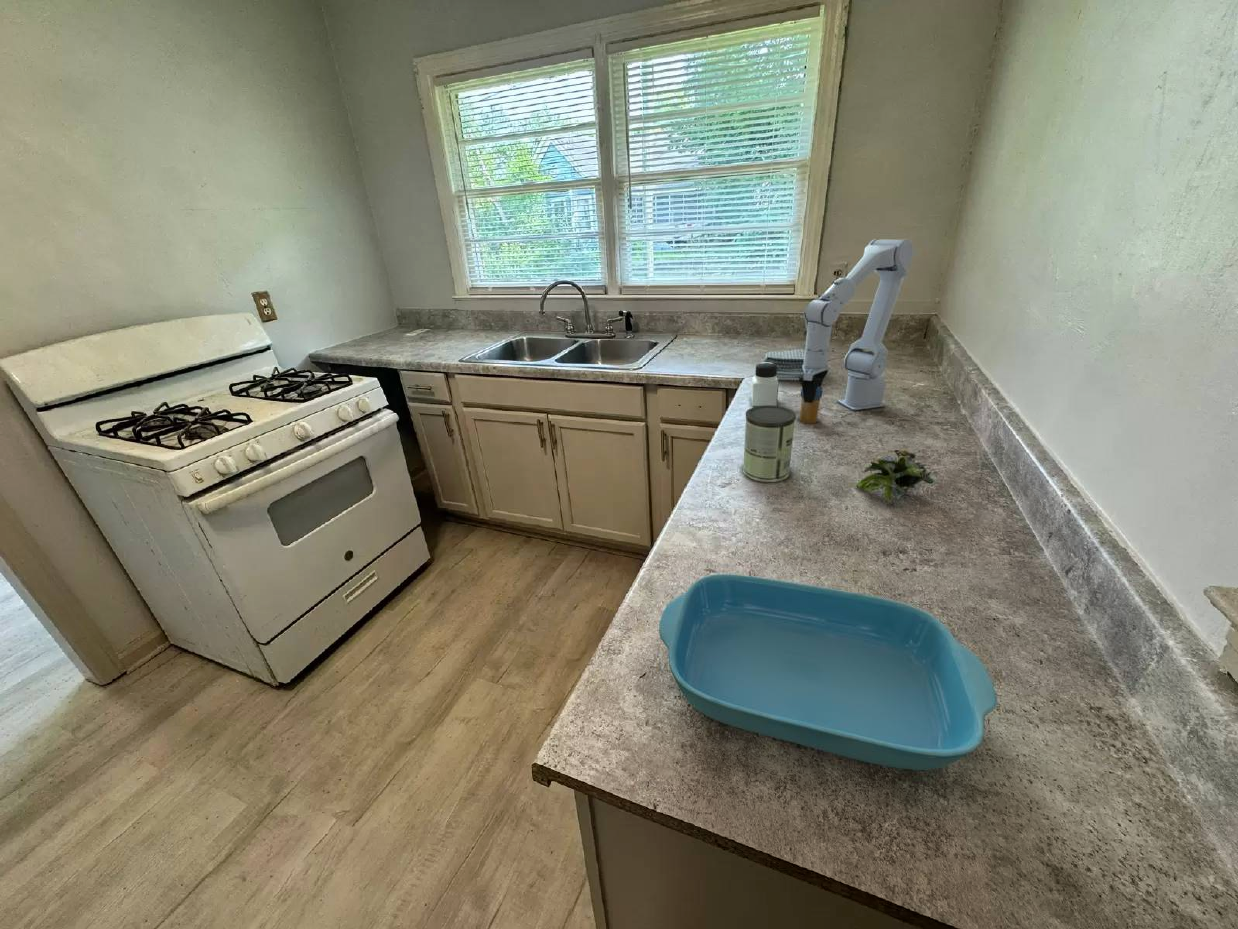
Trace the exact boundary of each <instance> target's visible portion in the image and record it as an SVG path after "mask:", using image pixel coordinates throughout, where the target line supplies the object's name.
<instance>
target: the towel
mask: <svg viewBox="0 0 1238 929" xmlns="http://www.w3.org/2000/svg"><path fill="white" fill-rule="evenodd" d="M804 354H805V348H804V349H803V348H800V349H789V350H782V351H781V350H779V351H777V350H776V351H767V352H766V353H765V355H764V359H763V362H770V363H774V364H776V365H777V374H776V377H777V380H778V381H795V382H796V381H799V376H800V375H804V371H803V369H802V365H803V363H804ZM763 362H761V363H763Z"/></svg>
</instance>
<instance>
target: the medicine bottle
mask: <svg viewBox="0 0 1238 929" xmlns="http://www.w3.org/2000/svg"><path fill="white" fill-rule="evenodd" d="M776 374H777V365H776V364H774V363H770V362H764V361H763V363H762V362H760V363H757V364H756V365H755V374H754V376H752V380H751V395H750V396H751V398H750V399H751V400H750V401H751V405H752V407H757V406H766V405H772V406H778V398H779V397H778V396H779V380H777V377H776Z"/></svg>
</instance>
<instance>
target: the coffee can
mask: <svg viewBox="0 0 1238 929" xmlns="http://www.w3.org/2000/svg"><path fill="white" fill-rule="evenodd" d="M796 418H797V414H796V412H795V411H794V410H792V409H791V408H788V407H784V406H780V405H777V406H772V405H766V406H752V407H750V408H749V409H747V410H746V411H745V428H744V430H745V432H744V448H743V466H742V473H743V475H745V476H746V477H747V478H749V479H751V480H753V481H757V482H761V483H777V482H781V481H784V480H786V479H788V477H789V476H790V473H791V471H790V470H791V462H792V461H791V460H792V452H793V450H792V449H793V440H794V431H795V422H796V421H795V420H796Z"/></svg>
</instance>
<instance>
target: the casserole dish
mask: <svg viewBox="0 0 1238 929" xmlns="http://www.w3.org/2000/svg"><path fill="white" fill-rule="evenodd" d="M658 633H659V637H660V640H661V642H662V643H663V644H664V645H665V646H666V648H667V649H668V666H669V668H670V673H671V674H672V677H673V679H674V680H675V682H676V684H677V687H678V688H679V690H680V693H681V694H682V696H683V697H684V698H685V700H686V701H687V702H688V703H689V704H690V705H691V706H692V707H693V708H694V709H695V710H697V711H698V712H699V713H701V714H703V715H705V716H706V717H708V718H710V719H712V720H715V721H717V722H720V723H722V724H725V725H728V726H730V727H735V728H737V729H740V730H744V731H747V732H752V733H755V734H758V735H762V736H767V737H770V738H773V739H777V740H781V741H786V742H790V743H792V744H793V743H794V744H798V745H801V746H804V747H808V748H812V749H815V750H817V751H818V750H819V751H822V752H826V753H829V754H833V755H837V756H841V757H845V758H849V759H852V760H857V761H860V762H865V763H869V764H874V765H878V766H884V767H889V768H896V769H902V770H913V771H929V770H936V769H939V768H943V767H946V766H949V765H951V764H953V763H956V762H957V761H959V760H960V759H962V758H964V757H965V756H967V755H969V754H971V753H973V752H974V751H975V750H976V749H978V748H979V747H980V745H981V743H982V742H983V740H984V736H985V717H986V716H987V715H989V714H990V713H991V712H993V710H994V709H995V708H996V706H997V704H998V703H997V702H998V696H997V692H996V689H995V686H994V683H993V681H992V678H991V676H990V673H989V672H988V670H987V668H986V666H985V664H984V663H983V662H982V660H980V658H979V657H978V656H977V655H976V654H975V653H974V652H972V651H971V650H969V649H968V648H967V647H965V646H964V645H963V644H961V643H960V642H959V641H958V640H957V639H956V638H955V636H954V635H953V634H952V632H951V631H950V629H949V628H948V627H947V626H946V625H945V624H944V623H943V622H942V621H941V620H939V619H938V618H937V617H935V616H933V615H932V614H930V613H929V612H926V610H923V609H920V608H918V607H916V606H913V605H910V604H907V603H905V602H900V601H897V600H892V599H888V598H884V597H879V596H875V595H869V594H863V593H858V592H853V591H848V590H847V591H846V590H841V589H834V588H828V587H822V586H815V585H810V584H809V585H808V584H803V583H798V582H792V581H786V580H779V579H778V580H777V579H772V578H765V577H759V576H753V575H752V576H751V575H744V574H736V573H735V574H734V573H719V574H718V573H717V574H710V575H705V576H703V577H700V578H699V579H697V580H696V581H694V582H693V583H692V584H691V585H690V586H689V587H688V588H687V589H686V591H685V592H684V593H683V594H681V595H678V596H677V597H676V598H674V599H673V600H671V601H670V602H669V603H668V604H667V605H666V607H665V608H664V610H663V612H662V614H661V617H660V621H659V626H658Z"/></svg>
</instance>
